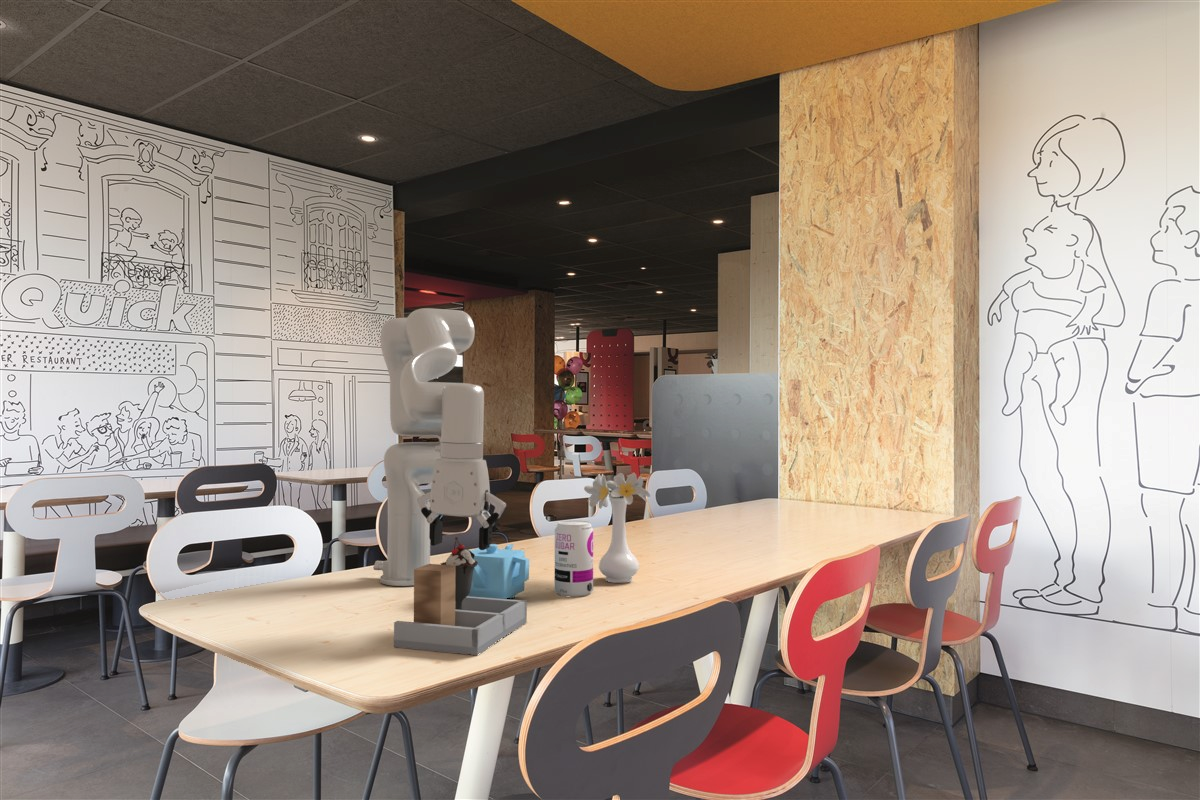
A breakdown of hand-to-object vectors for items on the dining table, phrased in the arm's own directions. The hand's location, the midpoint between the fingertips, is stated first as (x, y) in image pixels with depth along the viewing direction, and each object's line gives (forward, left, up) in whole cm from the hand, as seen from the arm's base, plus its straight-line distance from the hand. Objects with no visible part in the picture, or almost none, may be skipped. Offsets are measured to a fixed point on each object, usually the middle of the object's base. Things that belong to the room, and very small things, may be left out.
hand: (460, 546), depth 138 cm
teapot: (-2, +20, -14) cm, 24 cm away
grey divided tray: (+4, -5, -14) cm, 16 cm away
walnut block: (+1, -10, -13) cm, 16 cm away
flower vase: (+17, +45, -14) cm, 50 cm away
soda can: (+12, +30, -14) cm, 35 cm away
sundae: (+1, -1, -13) cm, 13 cm away
